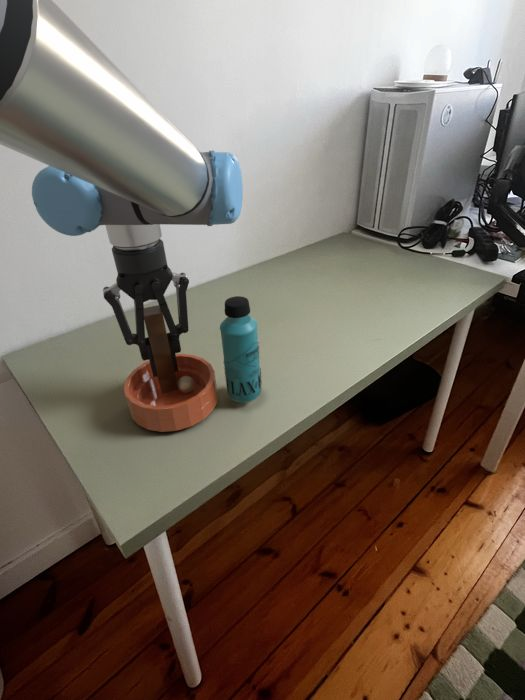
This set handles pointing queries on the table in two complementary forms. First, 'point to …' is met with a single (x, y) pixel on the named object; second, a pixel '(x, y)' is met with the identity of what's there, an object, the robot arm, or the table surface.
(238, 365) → the beverage bottle
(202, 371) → the bowl
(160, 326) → the stick
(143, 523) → the table surface
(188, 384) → the bead
